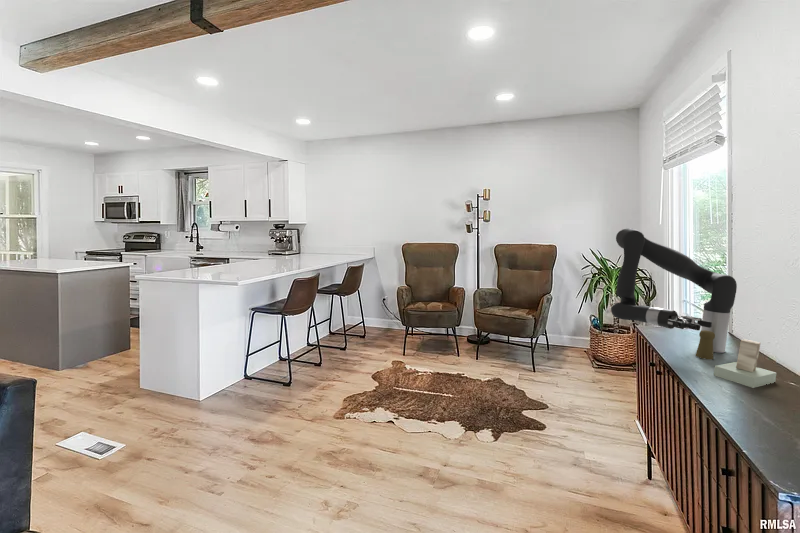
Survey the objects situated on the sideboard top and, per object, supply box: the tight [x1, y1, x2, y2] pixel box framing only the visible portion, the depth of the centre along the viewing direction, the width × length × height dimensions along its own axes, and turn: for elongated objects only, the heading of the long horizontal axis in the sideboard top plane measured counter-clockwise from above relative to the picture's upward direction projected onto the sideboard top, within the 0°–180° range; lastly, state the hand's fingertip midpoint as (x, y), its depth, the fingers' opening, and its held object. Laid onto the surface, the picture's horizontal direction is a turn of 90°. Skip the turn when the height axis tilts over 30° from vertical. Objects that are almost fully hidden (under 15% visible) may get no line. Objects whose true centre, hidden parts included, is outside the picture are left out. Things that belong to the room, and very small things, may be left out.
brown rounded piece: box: [695, 330, 715, 361], centre depth 171 cm, size 6×6×11 cm
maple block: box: [736, 338, 761, 372], centre depth 147 cm, size 4×4×10 cm
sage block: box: [713, 361, 777, 389], centre depth 148 cm, size 14×12×4 cm
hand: (705, 326), depth 159 cm, fingers open, 8 cm apart
